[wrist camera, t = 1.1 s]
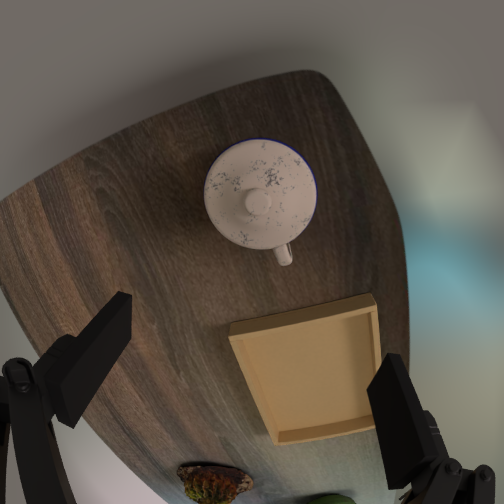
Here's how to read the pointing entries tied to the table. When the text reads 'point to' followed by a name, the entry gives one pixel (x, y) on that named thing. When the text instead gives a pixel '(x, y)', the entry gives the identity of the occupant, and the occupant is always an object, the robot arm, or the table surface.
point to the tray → (311, 368)
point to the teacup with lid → (261, 195)
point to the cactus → (214, 483)
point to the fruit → (333, 500)
